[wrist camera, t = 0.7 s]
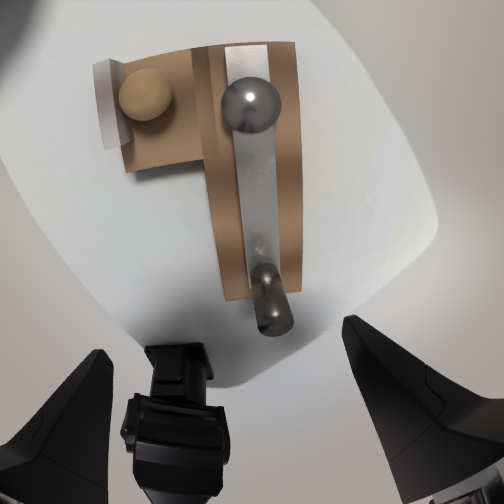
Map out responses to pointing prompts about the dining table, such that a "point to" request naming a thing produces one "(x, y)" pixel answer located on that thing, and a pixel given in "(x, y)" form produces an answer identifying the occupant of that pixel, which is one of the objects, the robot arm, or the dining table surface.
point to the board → (207, 141)
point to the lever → (257, 179)
